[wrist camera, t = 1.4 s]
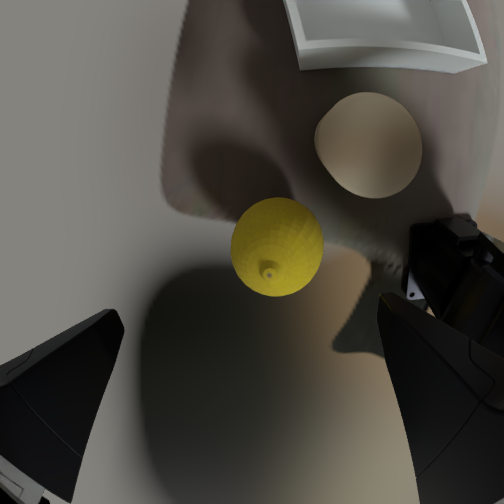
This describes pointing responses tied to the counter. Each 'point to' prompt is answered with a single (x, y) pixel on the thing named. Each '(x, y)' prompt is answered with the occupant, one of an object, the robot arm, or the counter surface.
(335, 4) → the tote
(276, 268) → the lemon
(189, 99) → the counter surface
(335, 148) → the birch peg
